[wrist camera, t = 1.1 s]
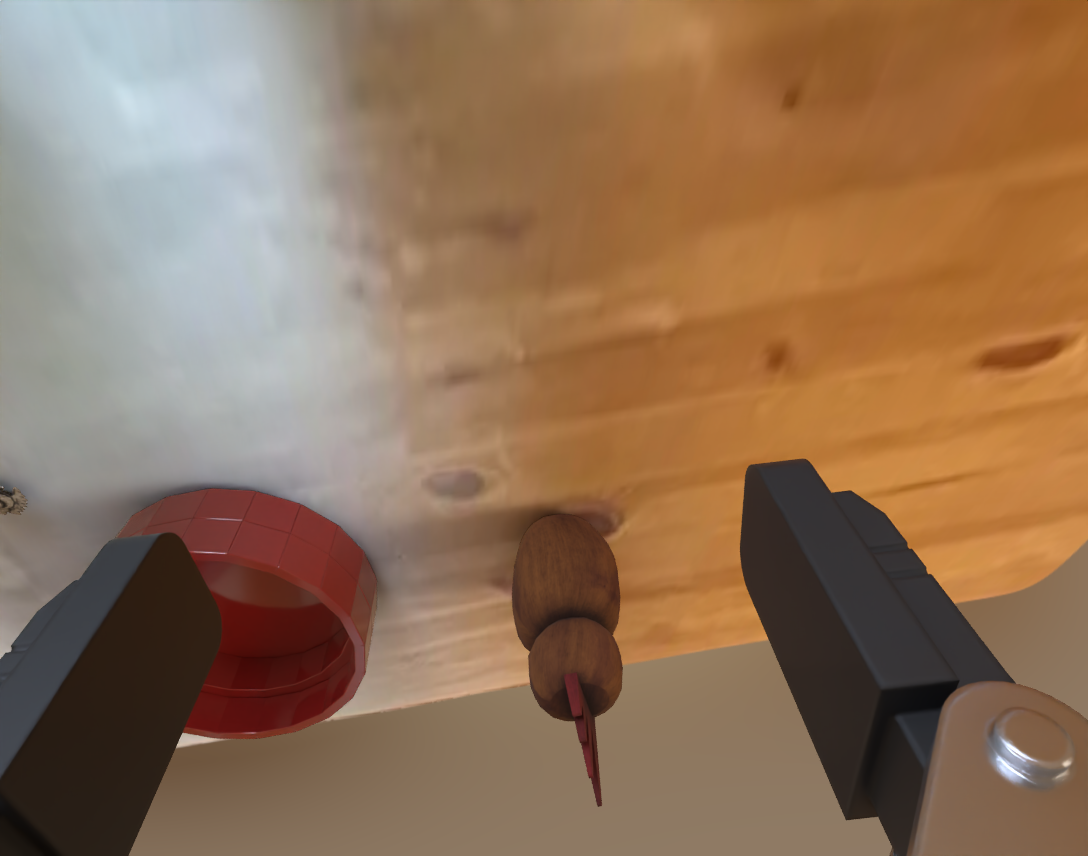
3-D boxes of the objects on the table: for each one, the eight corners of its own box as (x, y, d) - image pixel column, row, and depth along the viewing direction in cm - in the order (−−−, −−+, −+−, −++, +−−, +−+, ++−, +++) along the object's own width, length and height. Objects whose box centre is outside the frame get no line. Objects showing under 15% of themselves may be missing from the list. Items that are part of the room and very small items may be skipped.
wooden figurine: (594, 581, 43) (640, 824, 30) (504, 577, 42) (514, 826, 29) (614, 499, 39) (676, 737, 26) (517, 493, 38) (533, 735, 26)
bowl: (98, 631, 42) (51, 709, 37) (133, 446, 34) (80, 515, 30) (338, 682, 46) (322, 758, 41) (412, 528, 39) (403, 599, 34)
